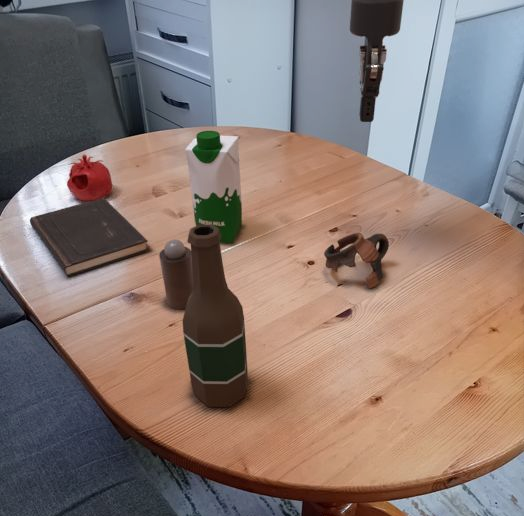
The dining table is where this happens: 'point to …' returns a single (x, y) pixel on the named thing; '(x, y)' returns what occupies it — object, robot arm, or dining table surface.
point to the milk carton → (216, 182)
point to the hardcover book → (88, 236)
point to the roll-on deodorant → (177, 273)
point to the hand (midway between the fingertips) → (366, 119)
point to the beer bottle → (213, 326)
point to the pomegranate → (89, 180)
